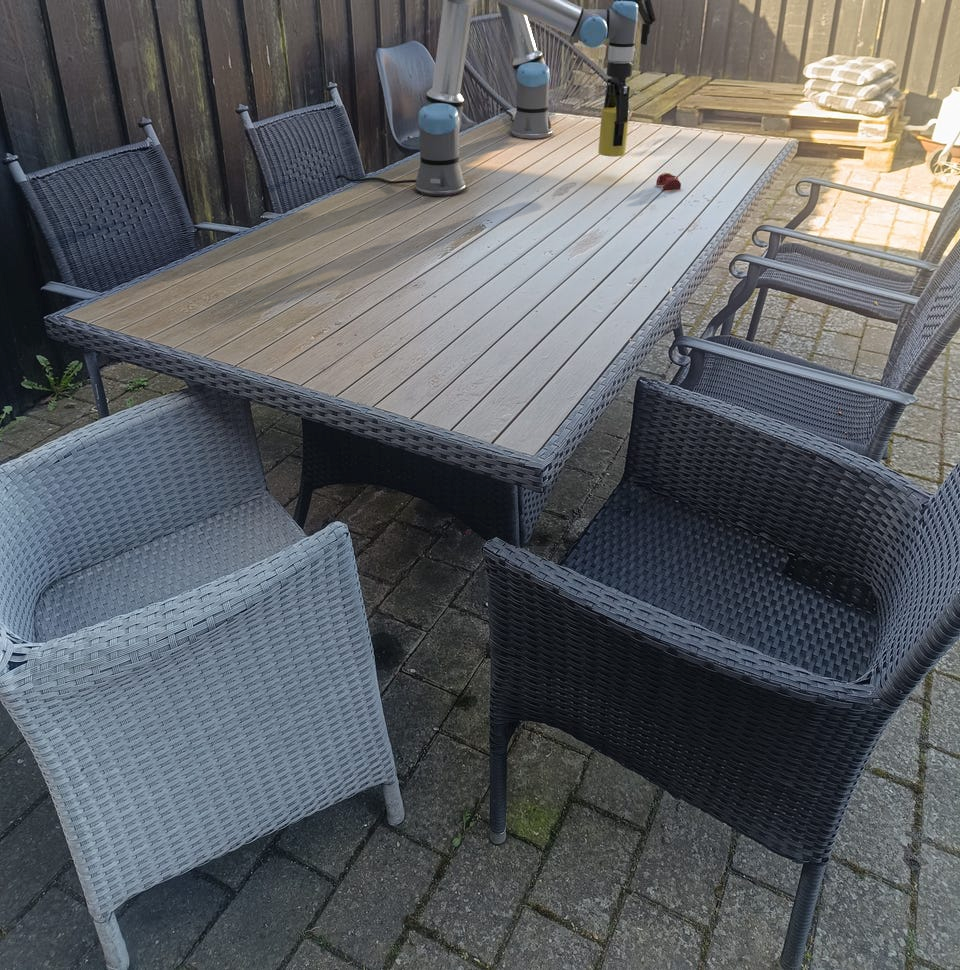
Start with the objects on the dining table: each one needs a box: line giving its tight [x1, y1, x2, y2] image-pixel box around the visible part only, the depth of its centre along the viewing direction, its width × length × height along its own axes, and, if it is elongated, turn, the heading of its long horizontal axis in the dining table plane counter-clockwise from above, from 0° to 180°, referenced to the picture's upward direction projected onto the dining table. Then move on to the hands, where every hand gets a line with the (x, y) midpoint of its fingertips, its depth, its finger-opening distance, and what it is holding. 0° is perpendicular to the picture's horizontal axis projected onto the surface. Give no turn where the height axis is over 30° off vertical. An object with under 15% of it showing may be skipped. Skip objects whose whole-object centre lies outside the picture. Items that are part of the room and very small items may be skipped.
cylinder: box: [597, 107, 631, 158], centre depth 260 cm, size 8×8×13 cm
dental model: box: [655, 172, 682, 192], centre depth 259 cm, size 6×4×8 cm
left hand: (612, 141), depth 262 cm, fingers closed on cylinder, 8 cm apart
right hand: (628, 45), depth 308 cm, fingers open, 13 cm apart
